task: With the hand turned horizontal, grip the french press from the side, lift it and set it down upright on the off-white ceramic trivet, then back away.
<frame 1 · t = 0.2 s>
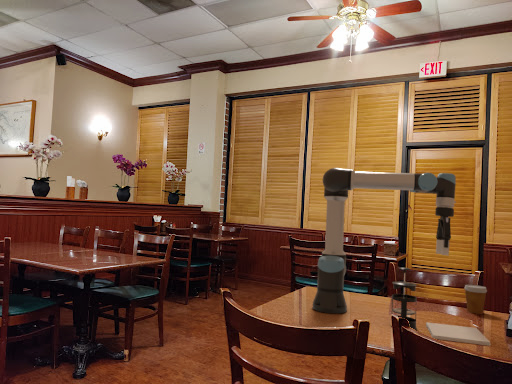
hand: (441, 254, 173), 27 cm above the table, tool pointing down, fingers open, 13 cm apart
french press: (403, 327, 150), on the table
disposable coffee cup: (475, 312, 181), on the table
ceramic trivet: (455, 334, 143), on the table
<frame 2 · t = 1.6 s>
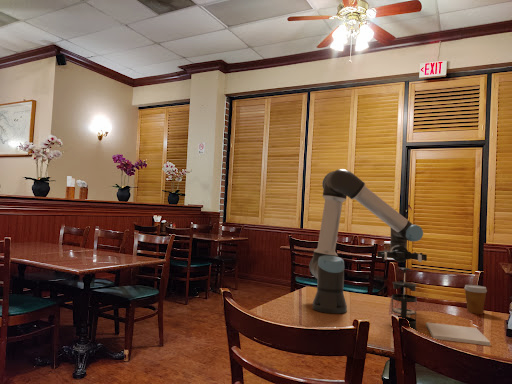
hand: (403, 257, 161), 26 cm above the table, tool horizontal, fingers open, 13 cm apart
nothing on the table moved.
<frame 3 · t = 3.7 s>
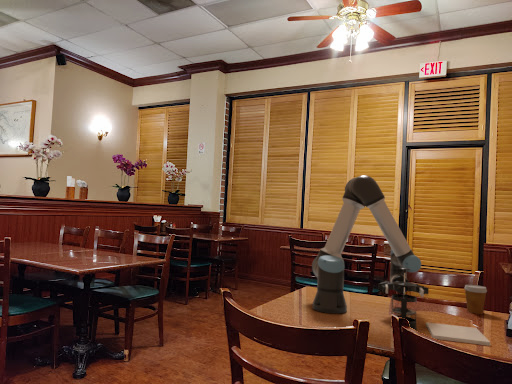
hand: (404, 292, 157), 12 cm above the table, tool horizontal, fingers open, 13 cm apart
nothing on the table moved.
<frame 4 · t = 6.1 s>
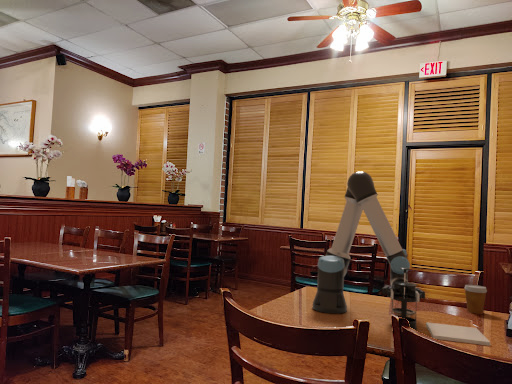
hand: (405, 296, 146), 13 cm above the table, tool horizontal, fingers closed on french press, 8 cm apart
french press: (403, 327, 150), on the table, touching gripper
everything else where it was.
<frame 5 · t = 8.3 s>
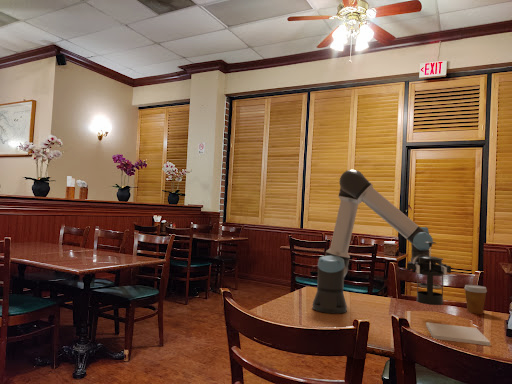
hand: (431, 270, 143), 23 cm above the table, tool horizontal, fingers closed on french press, 8 cm apart
french press: (429, 302, 147), point 11 cm above the table, touching gripper
everything else where it was.
when the fingers open (15 cm above the table, at t = 10.5 s): french press drops 2 cm, resting on ceramic trivet.
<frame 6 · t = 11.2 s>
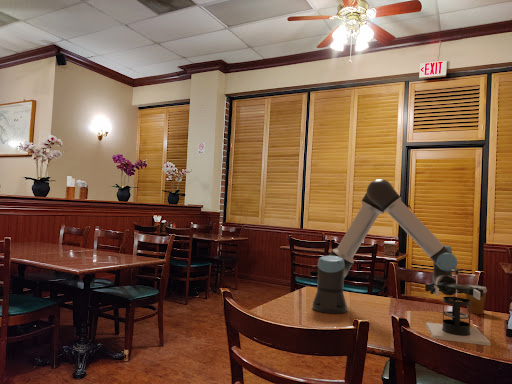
hand: (458, 294, 141), 16 cm above the table, tool horizontal, fingers open, 13 cm apart
french press: (455, 332, 143), point 1 cm above the table, touching ceramic trivet
everything else where it was.
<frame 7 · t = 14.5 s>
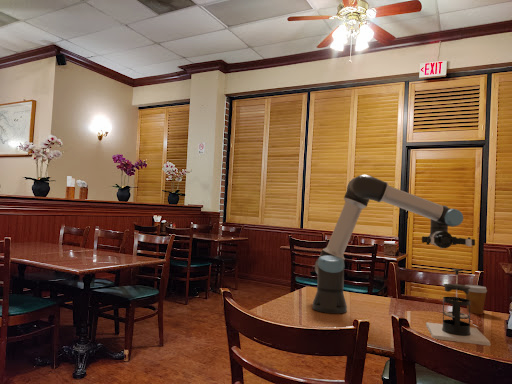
hand: (451, 242, 154), 34 cm above the table, tool horizontal, fingers open, 13 cm apart
nothing on the table moved.
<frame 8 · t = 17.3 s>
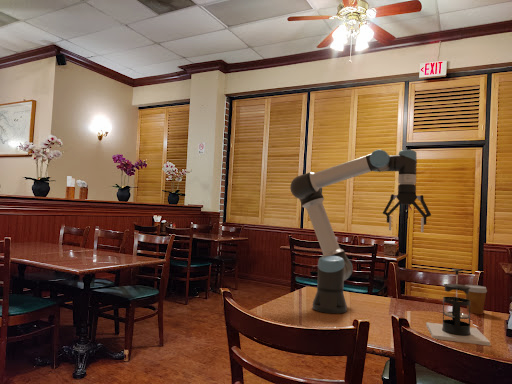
hand: (405, 231, 173), 37 cm above the table, tool pointing down, fingers open, 13 cm apart
nothing on the table moved.
at the end: french press inside the target area on the ceramic trivet (0.2 cm from its centre), point 1.0 cm above the ceramic trivet's base; french press tilted 0°; the gripper is holding nothing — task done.
